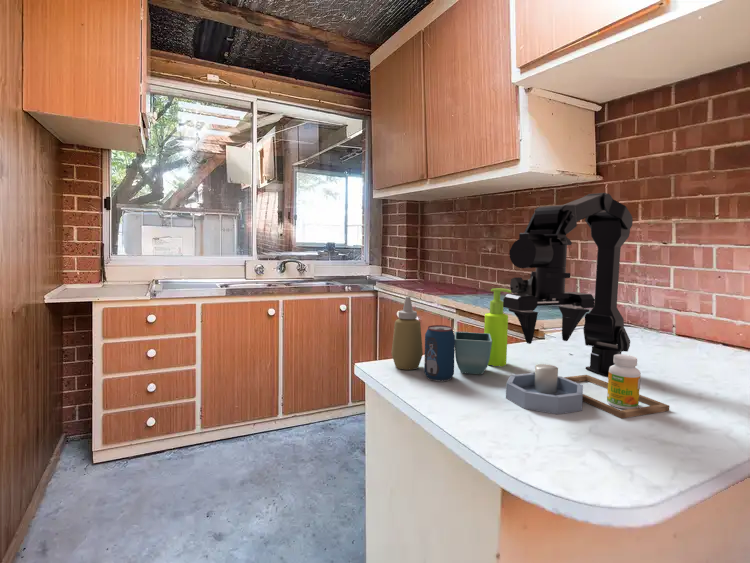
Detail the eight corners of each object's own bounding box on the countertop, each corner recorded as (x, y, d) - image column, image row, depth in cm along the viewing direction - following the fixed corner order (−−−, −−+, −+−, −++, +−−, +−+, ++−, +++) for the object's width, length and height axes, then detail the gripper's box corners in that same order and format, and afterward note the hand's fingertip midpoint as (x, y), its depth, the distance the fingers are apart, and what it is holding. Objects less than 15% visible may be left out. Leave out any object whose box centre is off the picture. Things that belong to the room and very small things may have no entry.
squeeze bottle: (389, 362, 111) (390, 295, 109) (419, 362, 112) (420, 295, 110) (393, 372, 103) (394, 299, 101) (425, 371, 104) (427, 299, 102)
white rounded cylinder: (546, 385, 91) (547, 363, 91) (561, 392, 87) (562, 369, 87) (530, 387, 90) (530, 365, 90) (544, 394, 86) (545, 371, 85)
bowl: (547, 385, 94) (548, 371, 94) (598, 408, 81) (599, 392, 81) (494, 391, 90) (494, 376, 90) (538, 416, 77) (539, 399, 76)
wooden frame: (586, 378, 99) (586, 374, 99) (669, 410, 80) (669, 405, 80) (544, 383, 95) (544, 379, 95) (621, 418, 76) (621, 413, 76)
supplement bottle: (605, 406, 82) (608, 357, 81) (608, 397, 87) (610, 351, 86) (637, 412, 79) (641, 362, 78) (639, 403, 84) (642, 355, 83)
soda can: (453, 373, 102) (454, 325, 101) (454, 383, 95) (455, 330, 94) (424, 372, 103) (425, 324, 102) (423, 381, 96) (424, 329, 95)
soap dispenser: (506, 368, 107) (509, 290, 105) (480, 364, 110) (482, 288, 109) (512, 363, 112) (515, 288, 110) (487, 359, 115) (489, 286, 114)
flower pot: (491, 378, 99) (492, 340, 98) (453, 375, 101) (454, 338, 100) (488, 367, 108) (489, 333, 107) (453, 365, 109) (454, 331, 108)
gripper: (558, 265, 97) (555, 332, 98) (489, 265, 91) (486, 336, 92) (598, 267, 86) (594, 342, 88) (522, 268, 80) (518, 348, 82)
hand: (547, 342), depth 88 cm, fingers open, 9 cm apart
